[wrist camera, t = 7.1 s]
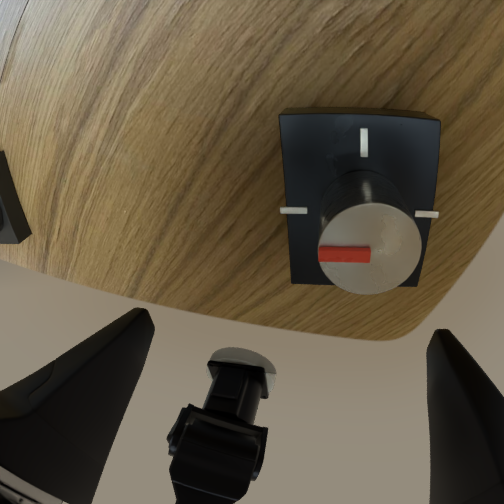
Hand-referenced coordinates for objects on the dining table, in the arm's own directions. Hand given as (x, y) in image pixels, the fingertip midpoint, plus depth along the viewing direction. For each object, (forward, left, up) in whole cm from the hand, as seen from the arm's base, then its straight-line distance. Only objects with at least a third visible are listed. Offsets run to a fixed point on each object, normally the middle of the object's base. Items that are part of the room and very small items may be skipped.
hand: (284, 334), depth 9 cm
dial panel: (0, -3, -12) cm, 12 cm away
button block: (+2, +33, -12) cm, 35 cm away
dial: (0, -3, -9) cm, 9 cm away
